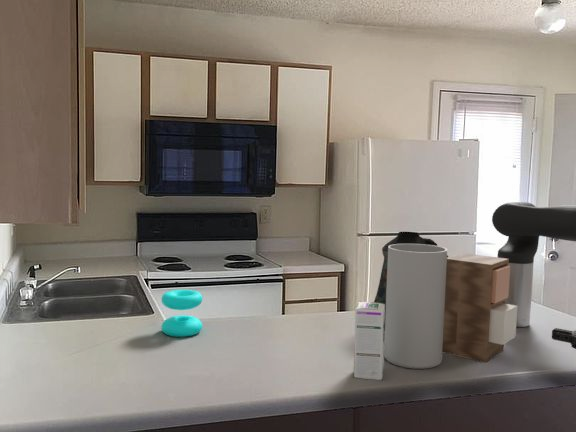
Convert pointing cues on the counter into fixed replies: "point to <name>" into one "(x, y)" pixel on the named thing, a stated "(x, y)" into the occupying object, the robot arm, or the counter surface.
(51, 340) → the counter surface
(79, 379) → the counter surface
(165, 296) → the donuts
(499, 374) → the counter surface
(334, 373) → the counter surface
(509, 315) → the light grey drawer
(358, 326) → the syrup box
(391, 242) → the beer stein
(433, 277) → the cylinder vase
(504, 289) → the salmon pink block
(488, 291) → the wooden drawer cabinet
